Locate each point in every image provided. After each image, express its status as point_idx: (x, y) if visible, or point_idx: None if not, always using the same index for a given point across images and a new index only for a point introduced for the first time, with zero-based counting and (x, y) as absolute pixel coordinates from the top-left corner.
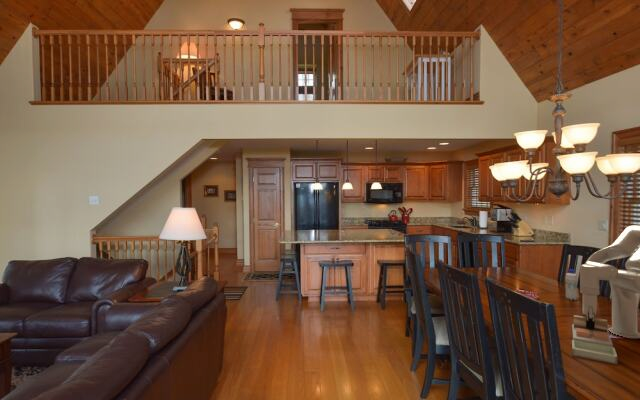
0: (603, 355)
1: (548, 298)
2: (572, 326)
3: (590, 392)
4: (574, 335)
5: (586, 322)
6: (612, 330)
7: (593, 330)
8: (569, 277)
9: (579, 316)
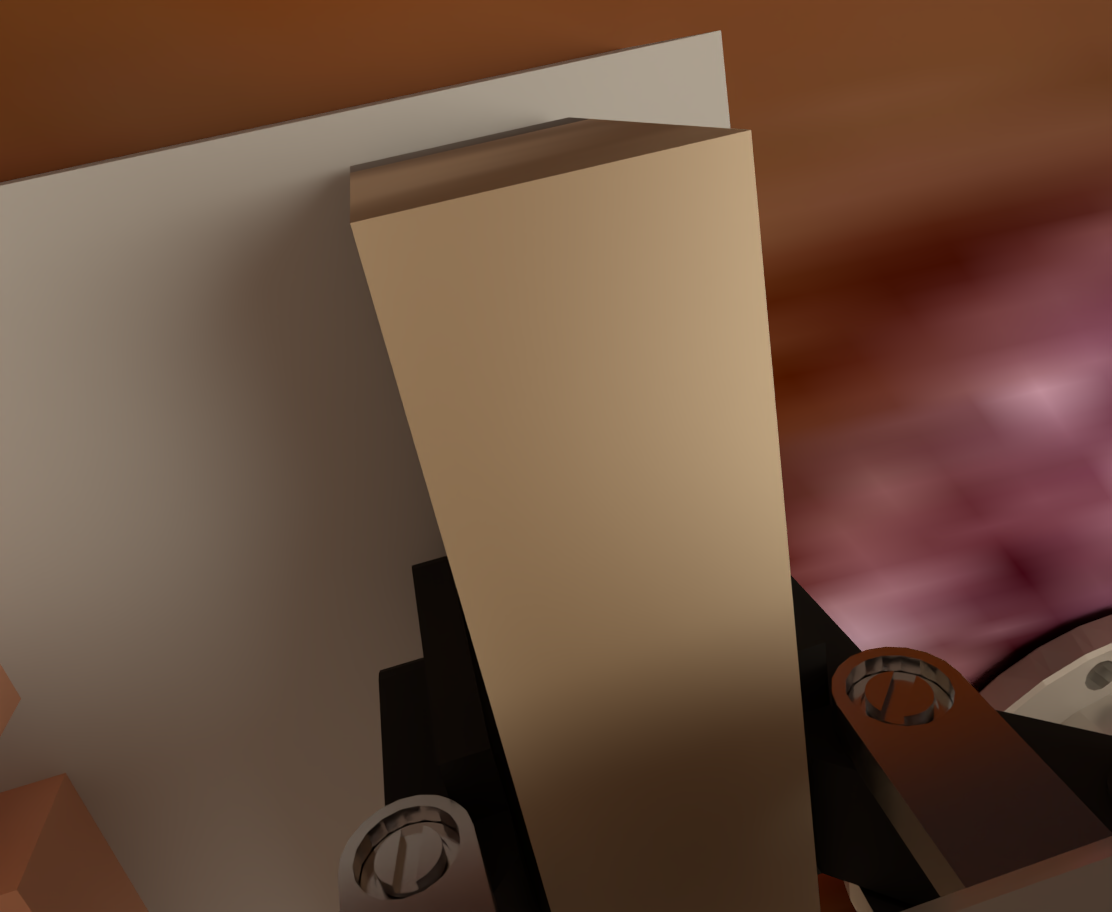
0: None
1: None
2: (434, 96)
3: None
4: None
5: (436, 699)
6: (1082, 703)
7: (22, 901)
8: None
9: (660, 492)
